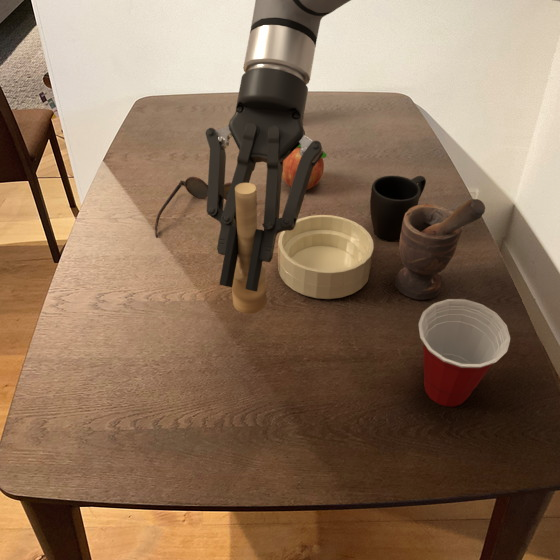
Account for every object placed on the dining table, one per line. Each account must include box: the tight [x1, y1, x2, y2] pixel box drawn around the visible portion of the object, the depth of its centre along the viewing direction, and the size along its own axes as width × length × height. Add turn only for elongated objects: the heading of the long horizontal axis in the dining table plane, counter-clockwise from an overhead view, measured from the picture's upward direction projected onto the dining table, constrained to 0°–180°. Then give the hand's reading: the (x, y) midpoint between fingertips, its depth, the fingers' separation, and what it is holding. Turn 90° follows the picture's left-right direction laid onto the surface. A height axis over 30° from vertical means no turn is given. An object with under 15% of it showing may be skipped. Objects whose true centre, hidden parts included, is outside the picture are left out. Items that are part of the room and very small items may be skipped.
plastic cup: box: [417, 298, 511, 408], centre depth 74 cm, size 11×11×12 cm
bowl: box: [277, 214, 375, 300], centre depth 95 cm, size 15×15×6 cm
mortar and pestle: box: [394, 198, 486, 301], centre depth 86 cm, size 12×9×20 cm
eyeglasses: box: [154, 176, 232, 238], centre depth 105 cm, size 15×15×5 cm
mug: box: [369, 175, 427, 243], centre depth 103 cm, size 8×12×10 cm
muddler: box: [231, 182, 267, 315], centre depth 64 cm, size 4×4×16 cm
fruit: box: [281, 145, 327, 191], centre depth 113 cm, size 9×10×10 cm
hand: (238, 287), depth 63 cm, fingers closed on muddler, 2 cm apart
